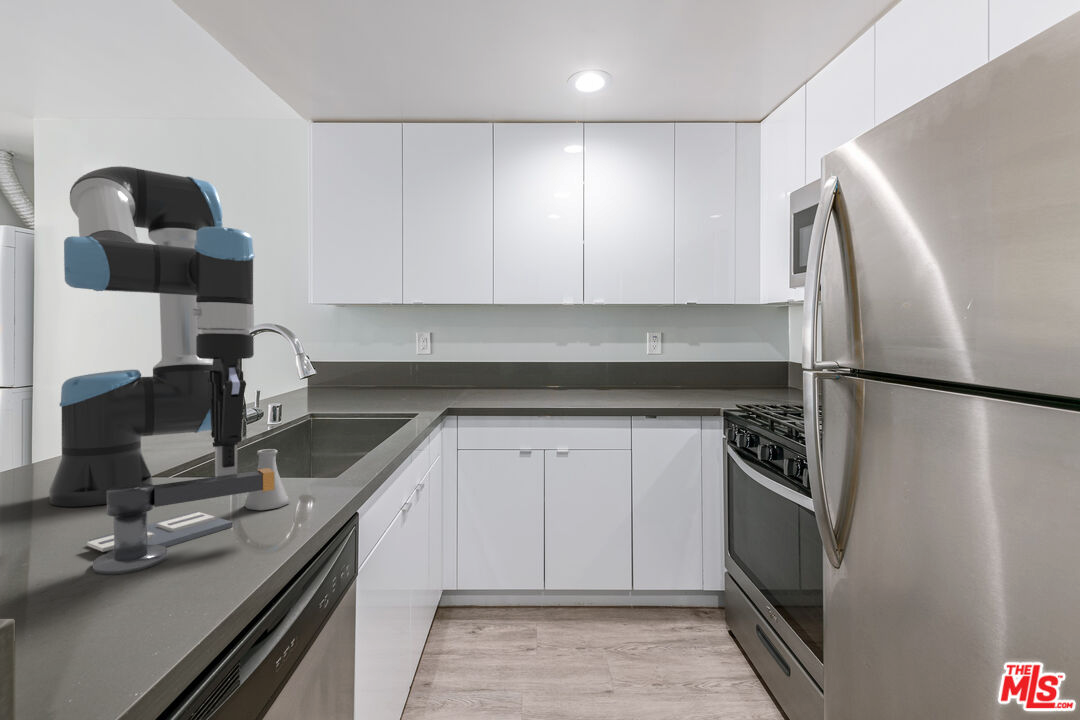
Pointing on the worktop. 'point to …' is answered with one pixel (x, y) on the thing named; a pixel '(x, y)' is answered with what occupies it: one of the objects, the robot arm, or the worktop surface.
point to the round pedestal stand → (130, 548)
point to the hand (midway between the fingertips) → (226, 486)
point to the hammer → (183, 491)
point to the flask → (272, 497)
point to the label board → (171, 531)
